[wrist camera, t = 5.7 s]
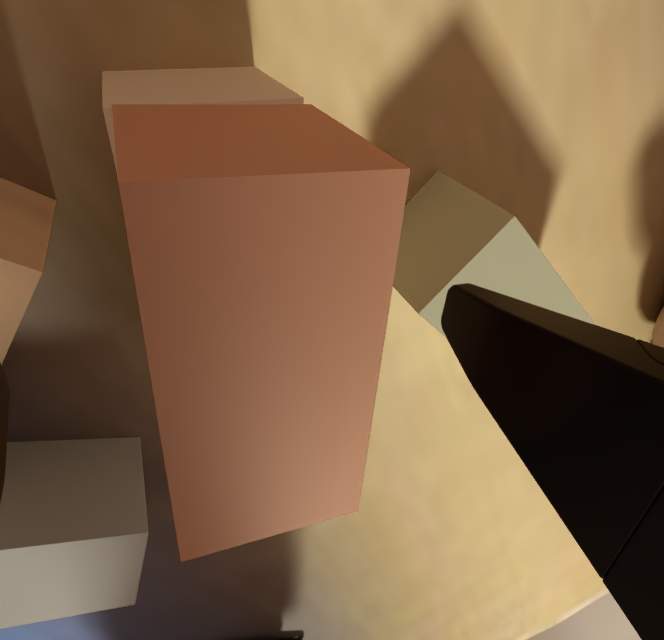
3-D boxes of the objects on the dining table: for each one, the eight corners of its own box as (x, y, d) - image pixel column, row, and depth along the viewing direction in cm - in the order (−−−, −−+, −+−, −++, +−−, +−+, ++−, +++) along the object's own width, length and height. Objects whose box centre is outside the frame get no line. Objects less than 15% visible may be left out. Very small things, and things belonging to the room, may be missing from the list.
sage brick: (527, 279, 20) (603, 335, 17) (463, 341, 21) (526, 405, 18) (435, 168, 16) (515, 216, 13) (359, 250, 17) (418, 313, 14)
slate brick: (140, 433, 18) (149, 532, 15) (129, 502, 19) (135, 604, 16) (-121, 443, 14) (-181, 571, 11) (-109, 524, 16) (-158, 656, 13)
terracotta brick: (299, 386, 13) (358, 511, 10) (160, 413, 12) (181, 562, 9) (310, 104, 10) (410, 168, 7) (112, 104, 8) (118, 181, 5)
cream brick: (267, 304, 16) (306, 381, 13) (155, 324, 15) (169, 413, 12) (253, 65, 13) (303, 97, 9) (102, 70, 12) (102, 108, 8)
